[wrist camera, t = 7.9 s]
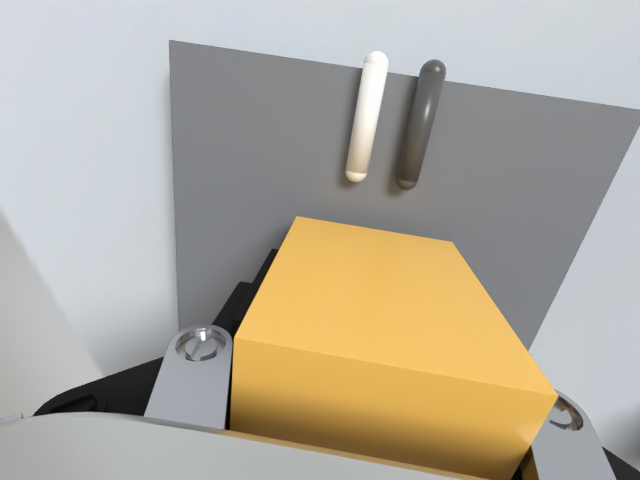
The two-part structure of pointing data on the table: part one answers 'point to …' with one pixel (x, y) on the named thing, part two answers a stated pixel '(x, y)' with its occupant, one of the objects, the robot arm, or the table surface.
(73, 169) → the table surface
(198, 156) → the plate
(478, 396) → the mustard yellow cube
